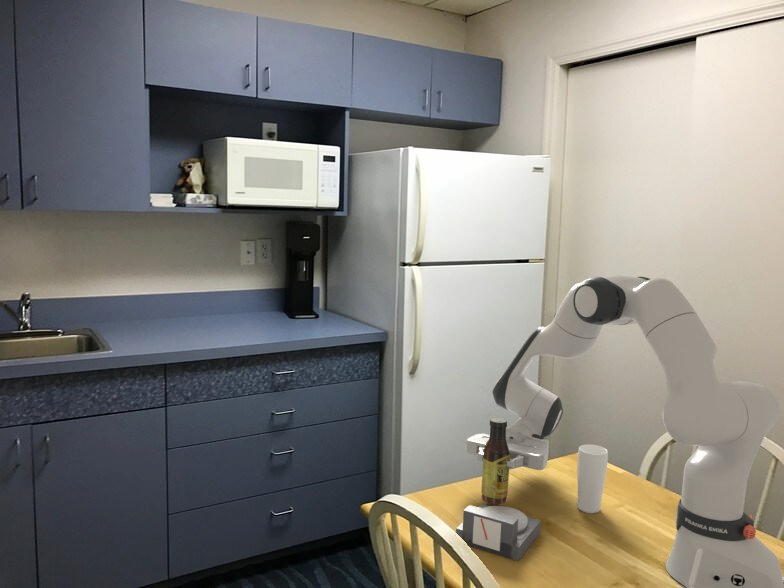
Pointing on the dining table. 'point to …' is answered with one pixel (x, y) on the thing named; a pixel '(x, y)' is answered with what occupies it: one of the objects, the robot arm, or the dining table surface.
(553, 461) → the dining table surface
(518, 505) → the dining table surface
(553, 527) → the dining table surface
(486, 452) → the sauce bottle
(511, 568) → the dining table surface
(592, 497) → the drinking glass
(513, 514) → the kitchen scale
